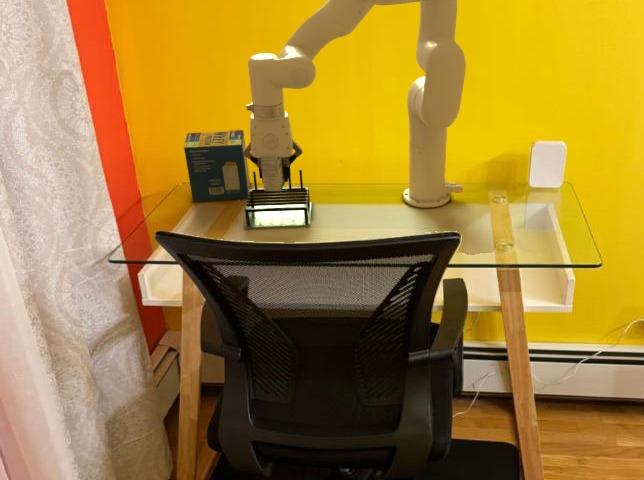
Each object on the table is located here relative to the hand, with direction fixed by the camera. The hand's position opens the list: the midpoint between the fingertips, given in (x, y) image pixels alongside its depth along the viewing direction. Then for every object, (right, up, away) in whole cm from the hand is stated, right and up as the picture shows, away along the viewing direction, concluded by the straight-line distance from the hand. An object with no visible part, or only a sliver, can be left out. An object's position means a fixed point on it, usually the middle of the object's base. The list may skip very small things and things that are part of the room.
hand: (275, 179), depth 199 cm
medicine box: (0, -1, +1) cm, 2 cm away
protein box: (-17, +1, +19) cm, 26 cm away
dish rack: (0, -8, +6) cm, 10 cm away
